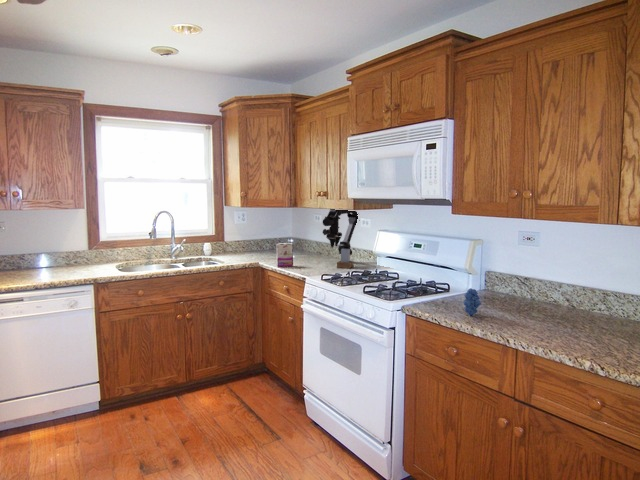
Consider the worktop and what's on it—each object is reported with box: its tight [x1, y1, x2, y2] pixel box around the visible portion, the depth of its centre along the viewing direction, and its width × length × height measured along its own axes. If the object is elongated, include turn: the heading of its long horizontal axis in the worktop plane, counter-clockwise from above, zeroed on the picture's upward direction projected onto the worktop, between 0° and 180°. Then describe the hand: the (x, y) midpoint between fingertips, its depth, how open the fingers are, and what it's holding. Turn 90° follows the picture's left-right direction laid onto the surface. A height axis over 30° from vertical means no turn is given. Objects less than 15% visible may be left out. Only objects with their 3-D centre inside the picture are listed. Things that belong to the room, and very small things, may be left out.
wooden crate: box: [336, 260, 355, 270], centre depth 312 cm, size 9×9×4 cm
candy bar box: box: [276, 242, 294, 268], centre depth 314 cm, size 11×5×16 cm, turn 105°
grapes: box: [462, 288, 482, 316], centre depth 189 cm, size 12×7×12 cm, turn 135°
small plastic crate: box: [340, 248, 351, 263], centre depth 312 cm, size 5×5×12 cm
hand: (334, 246), depth 324 cm, fingers open, 9 cm apart
